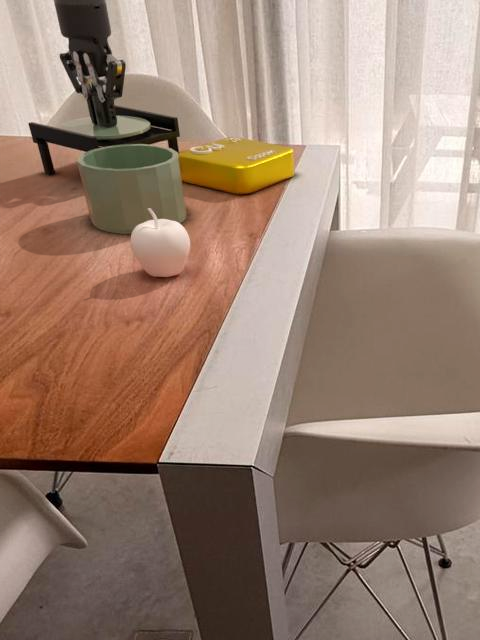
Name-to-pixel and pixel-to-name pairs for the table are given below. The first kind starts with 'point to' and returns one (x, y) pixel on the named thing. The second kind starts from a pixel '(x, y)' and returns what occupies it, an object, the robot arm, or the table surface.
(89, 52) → the robot arm
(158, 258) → the apple
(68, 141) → the rack
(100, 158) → the pot
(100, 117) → the lid
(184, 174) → the element tile
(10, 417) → the table surface
